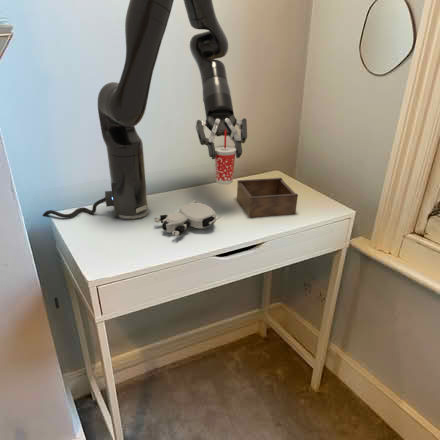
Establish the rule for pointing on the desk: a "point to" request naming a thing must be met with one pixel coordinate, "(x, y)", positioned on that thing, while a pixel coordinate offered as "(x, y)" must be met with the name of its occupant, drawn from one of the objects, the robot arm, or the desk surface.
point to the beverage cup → (224, 163)
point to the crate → (266, 197)
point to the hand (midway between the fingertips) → (226, 157)
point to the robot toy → (188, 218)
